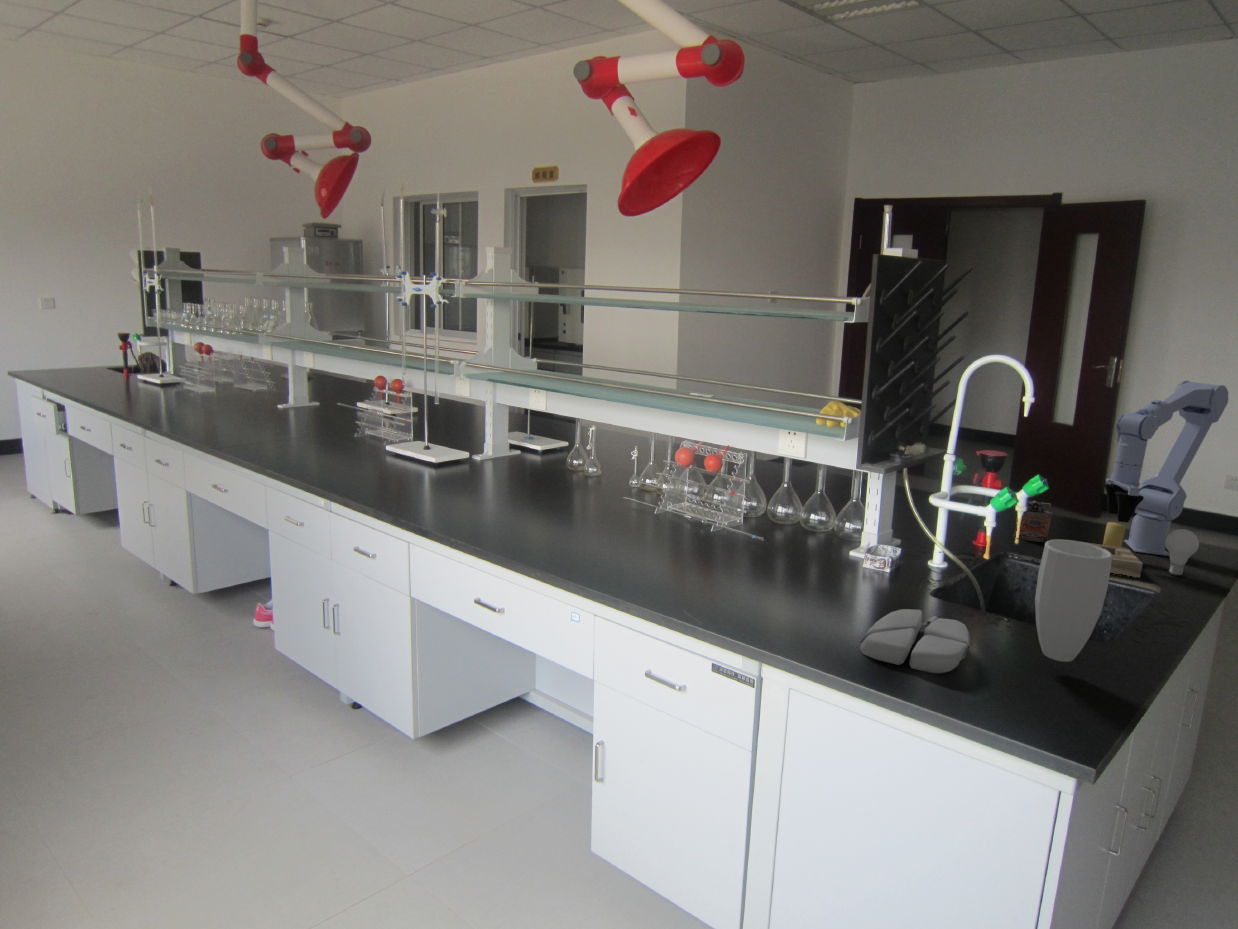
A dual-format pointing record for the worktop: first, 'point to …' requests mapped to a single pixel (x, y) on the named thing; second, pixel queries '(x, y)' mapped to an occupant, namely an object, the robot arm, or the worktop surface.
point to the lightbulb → (1180, 549)
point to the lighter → (1035, 522)
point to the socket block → (1123, 561)
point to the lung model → (931, 652)
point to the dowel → (1114, 534)
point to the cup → (1069, 596)
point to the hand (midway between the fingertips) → (1117, 517)
